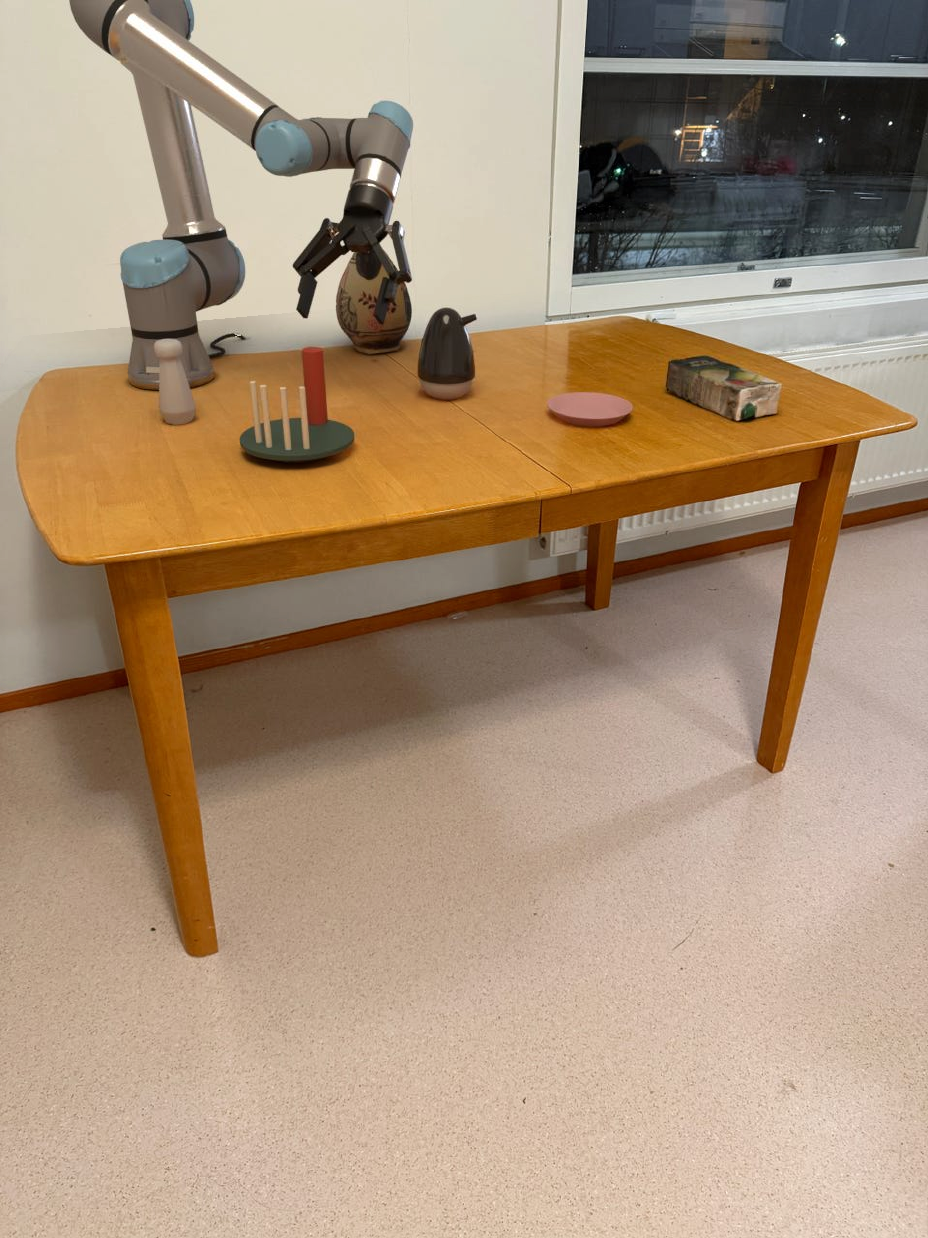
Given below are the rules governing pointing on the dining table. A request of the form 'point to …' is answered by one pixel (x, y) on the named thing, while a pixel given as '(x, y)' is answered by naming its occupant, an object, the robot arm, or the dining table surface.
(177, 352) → the salt shaker
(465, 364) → the pump dispenser
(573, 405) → the plate
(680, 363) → the juice carton
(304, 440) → the drying rack
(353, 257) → the ceramic jug
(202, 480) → the dining table surface
